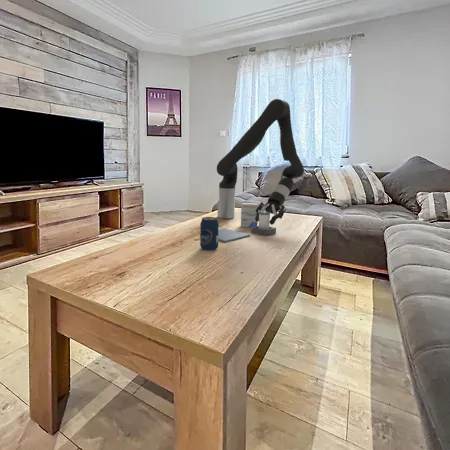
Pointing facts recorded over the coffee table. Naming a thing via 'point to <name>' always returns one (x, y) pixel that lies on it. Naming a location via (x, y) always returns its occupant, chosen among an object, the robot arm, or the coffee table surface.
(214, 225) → the soda can
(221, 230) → the slate board
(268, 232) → the sleeve
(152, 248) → the coffee table surface
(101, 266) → the coffee table surface
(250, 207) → the ink box
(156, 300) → the coffee table surface
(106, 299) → the coffee table surface
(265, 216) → the ball
